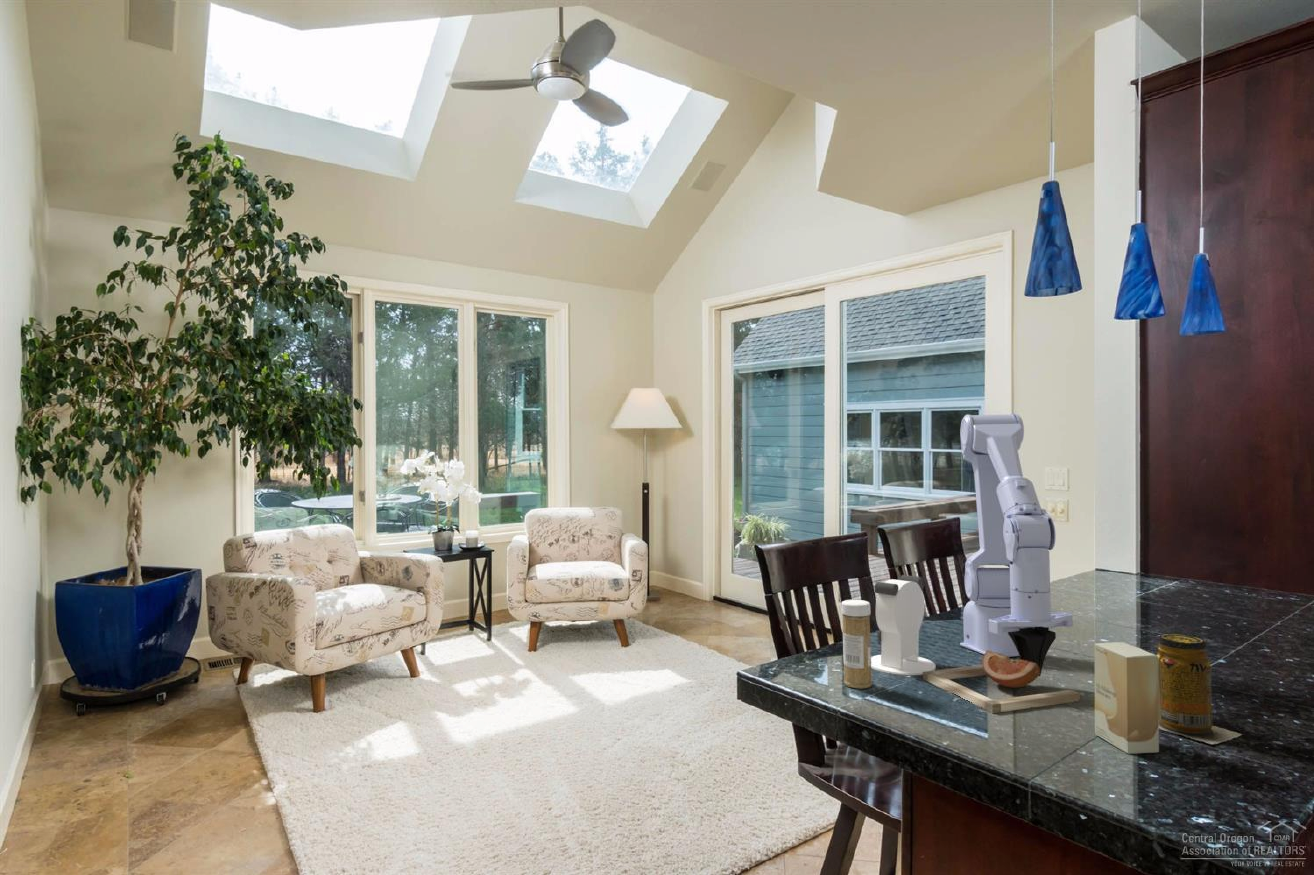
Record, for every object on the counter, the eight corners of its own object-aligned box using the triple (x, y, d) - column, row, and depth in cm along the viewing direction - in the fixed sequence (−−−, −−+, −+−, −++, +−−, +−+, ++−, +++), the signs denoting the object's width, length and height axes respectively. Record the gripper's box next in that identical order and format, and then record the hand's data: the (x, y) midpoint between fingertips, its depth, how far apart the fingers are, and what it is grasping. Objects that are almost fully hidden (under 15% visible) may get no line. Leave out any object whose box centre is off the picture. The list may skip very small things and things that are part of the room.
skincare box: (1093, 735, 94) (1090, 642, 95) (1124, 733, 95) (1121, 640, 95) (1129, 755, 88) (1126, 655, 88) (1162, 753, 88) (1159, 654, 89)
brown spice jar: (878, 685, 115) (876, 602, 116) (859, 691, 113) (857, 605, 113) (856, 678, 119) (854, 597, 119) (837, 683, 117) (835, 601, 117)
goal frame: (922, 679, 118) (922, 671, 118) (1001, 669, 122) (1001, 662, 122) (992, 713, 103) (992, 704, 103) (1079, 700, 107) (1079, 692, 107)
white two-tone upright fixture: (888, 651, 134) (886, 571, 135) (948, 663, 126) (946, 578, 127) (855, 665, 126) (853, 580, 126) (917, 679, 118) (914, 588, 118)
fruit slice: (1048, 690, 111) (1048, 658, 112) (1024, 699, 108) (1023, 666, 108) (998, 676, 119) (997, 646, 119) (973, 684, 115) (973, 653, 115)
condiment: (1172, 714, 101) (1170, 629, 101) (1242, 736, 93) (1240, 643, 94) (1141, 724, 98) (1138, 636, 98) (1211, 747, 90) (1208, 651, 90)
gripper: (1011, 597, 109) (1013, 687, 108) (1087, 590, 113) (1090, 677, 112) (978, 589, 115) (980, 673, 115) (1051, 583, 119) (1054, 664, 119)
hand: (1032, 674), depth 114 cm, fingers closed
